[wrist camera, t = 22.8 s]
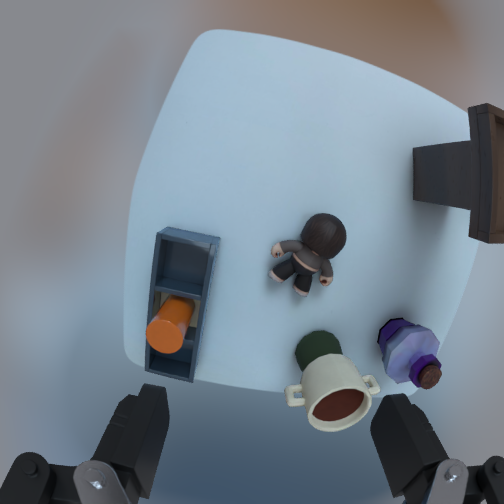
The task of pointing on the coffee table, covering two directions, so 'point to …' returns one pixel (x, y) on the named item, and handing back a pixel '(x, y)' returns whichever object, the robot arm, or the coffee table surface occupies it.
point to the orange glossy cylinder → (170, 324)
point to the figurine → (310, 253)
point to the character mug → (330, 384)
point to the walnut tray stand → (468, 173)
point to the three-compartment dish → (181, 294)
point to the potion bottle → (410, 353)
